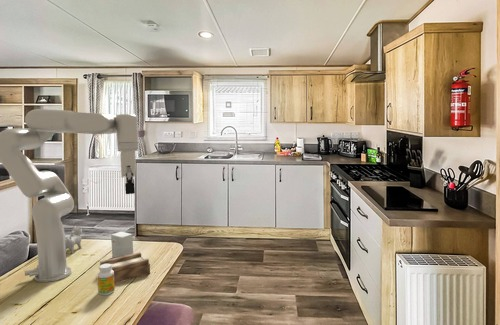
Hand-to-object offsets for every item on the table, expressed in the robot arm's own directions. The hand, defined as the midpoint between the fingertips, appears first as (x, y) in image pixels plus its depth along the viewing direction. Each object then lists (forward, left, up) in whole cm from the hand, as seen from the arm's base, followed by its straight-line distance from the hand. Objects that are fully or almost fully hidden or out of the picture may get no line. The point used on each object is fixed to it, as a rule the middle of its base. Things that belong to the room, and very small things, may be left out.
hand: (130, 191), depth 131 cm
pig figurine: (-13, +46, -34) cm, 59 cm away
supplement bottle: (-12, -7, -34) cm, 37 cm away
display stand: (-2, +4, -34) cm, 34 cm away
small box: (+3, +23, -34) cm, 41 cm away
